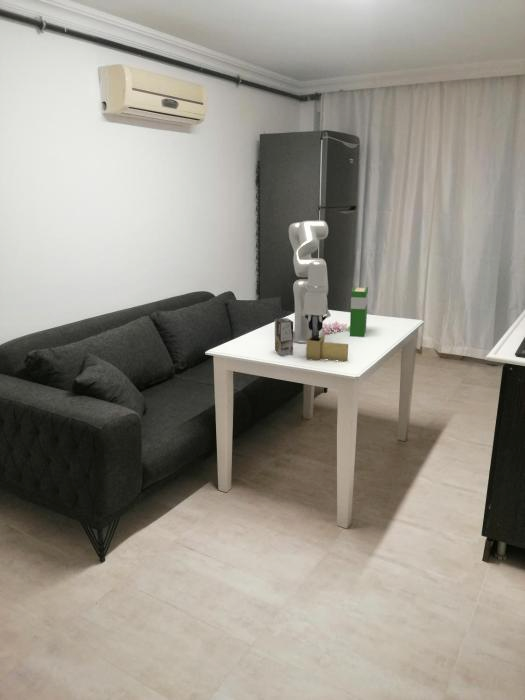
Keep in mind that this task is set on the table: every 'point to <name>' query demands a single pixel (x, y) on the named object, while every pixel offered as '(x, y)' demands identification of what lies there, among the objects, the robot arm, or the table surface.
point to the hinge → (326, 350)
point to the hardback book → (358, 311)
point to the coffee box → (284, 336)
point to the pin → (315, 327)
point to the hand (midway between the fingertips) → (315, 329)
